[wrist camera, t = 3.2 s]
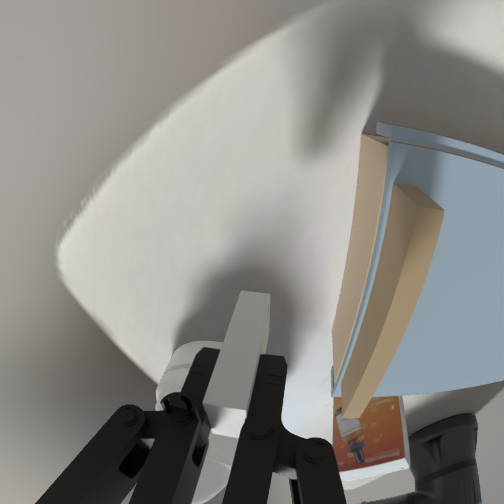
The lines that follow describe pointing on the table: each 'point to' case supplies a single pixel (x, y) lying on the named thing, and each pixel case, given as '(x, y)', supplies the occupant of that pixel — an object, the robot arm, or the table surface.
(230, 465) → the honey pot
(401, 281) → the lid
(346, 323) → the tray
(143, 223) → the table surface
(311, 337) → the table surface
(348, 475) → the small box
